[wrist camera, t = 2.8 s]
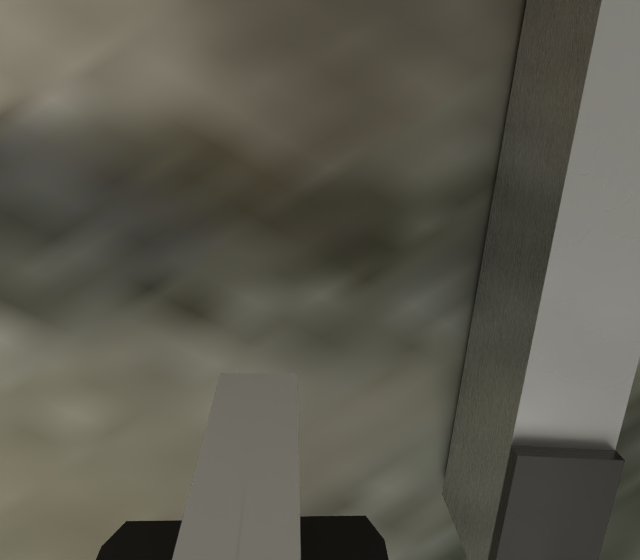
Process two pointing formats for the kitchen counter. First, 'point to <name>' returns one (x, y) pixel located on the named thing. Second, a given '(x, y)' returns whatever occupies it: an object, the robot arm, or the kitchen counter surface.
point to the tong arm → (555, 295)
